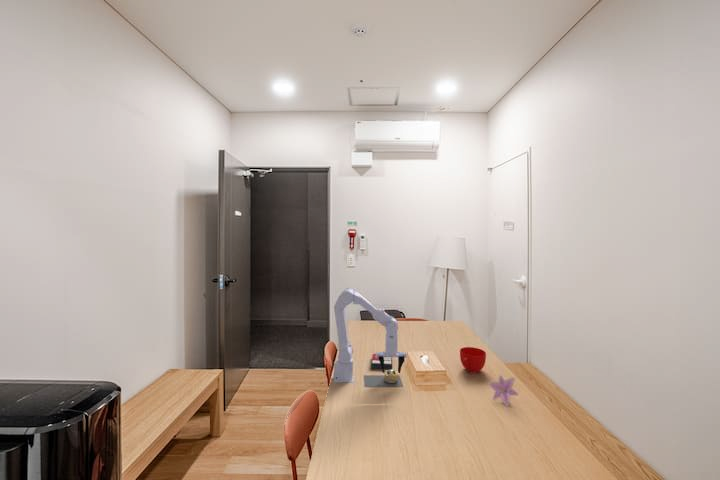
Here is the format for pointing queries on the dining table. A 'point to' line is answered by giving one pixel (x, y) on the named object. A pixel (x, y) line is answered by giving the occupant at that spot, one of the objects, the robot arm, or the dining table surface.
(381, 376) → the mat
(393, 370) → the silver disc with post
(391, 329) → the robot arm
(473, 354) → the ceramic cup
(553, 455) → the dining table surface
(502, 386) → the lily
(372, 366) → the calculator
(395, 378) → the bronze square frame
